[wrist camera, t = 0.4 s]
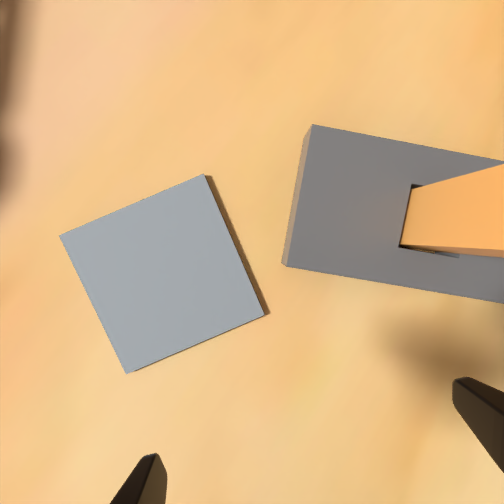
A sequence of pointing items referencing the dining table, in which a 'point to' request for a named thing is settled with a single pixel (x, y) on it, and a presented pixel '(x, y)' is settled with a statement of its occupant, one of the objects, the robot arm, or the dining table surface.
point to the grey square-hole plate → (378, 214)
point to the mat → (163, 274)
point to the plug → (458, 215)
